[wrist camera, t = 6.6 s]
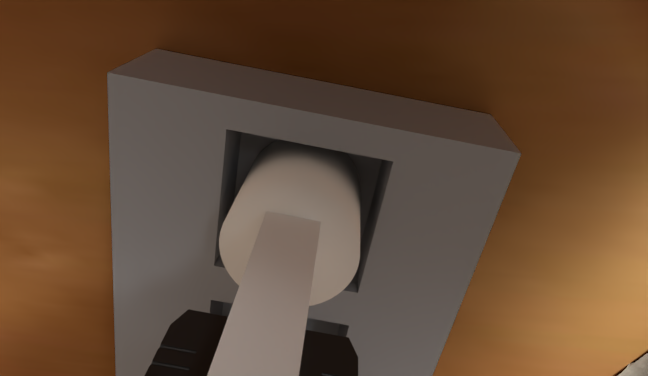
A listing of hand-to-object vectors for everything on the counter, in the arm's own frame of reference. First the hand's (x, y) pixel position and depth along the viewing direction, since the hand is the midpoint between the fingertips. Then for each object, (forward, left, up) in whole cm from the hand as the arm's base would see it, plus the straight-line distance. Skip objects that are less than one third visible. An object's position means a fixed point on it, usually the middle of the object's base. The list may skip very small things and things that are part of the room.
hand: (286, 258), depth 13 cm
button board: (+6, 0, -6) cm, 9 cm away
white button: (0, 0, -4) cm, 4 cm away
